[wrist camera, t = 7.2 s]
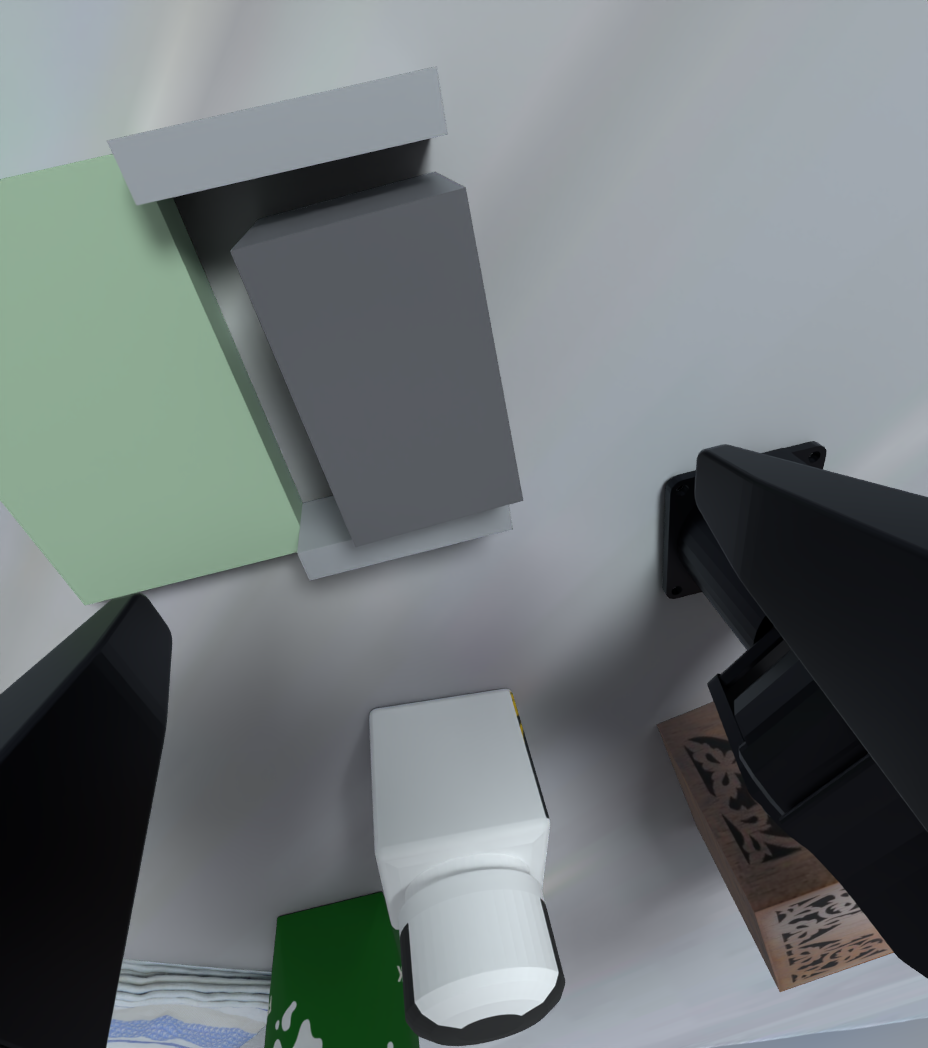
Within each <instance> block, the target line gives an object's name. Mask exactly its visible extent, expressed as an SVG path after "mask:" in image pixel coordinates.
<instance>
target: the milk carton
mask: <svg viewBox="0 0 928 1048" xmlns="http://www.w3.org/2000/svg"><path fill="white" fill-rule="evenodd" d="M264 1048H419V1037H418V1036H417V1035H416V1034H415V1033H414V1032H413V1030H412V1029H411V1028H410V1027H409V1025H408V1024H407V1022H406V1020H405V1008H404V993H403V979H402V964H401V949H400V934H399V930H396V929H395V928H394V927H393V926H392V925H391V921H390V917H389V913H388V909H387V904H386V900H385V897H384V895H383V893H382V892H379V893H375V894H371V895H367V896H362V897H358V898H354V899H350V900H346V901H342V902H338V903H334V904H329V905H325V906H321V907H317V908H313V909H309V910H305V911H301V912H297V913H292V914H288V915H284V916H280V917H278V918H277V927H276V937H275V947H274V956H273V965H272V975H271V984H270V993H269V1003H268V1013H267V1024H266V1036H265V1047H264Z"/></svg>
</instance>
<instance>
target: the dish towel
mask: <svg viewBox="0 0 928 1048" xmlns="http://www.w3.org/2000/svg"><path fill="white" fill-rule="evenodd" d="M271 975H272V972H265V971H252V970H236V969H225V968H213V967H202V966H190V965H178V964H167V963H157V962H148V961H138V960H129V959H123V962H122V967H121V972H120V978H119V983H118V988H117V994H116V999H115V1004H114V1010H113V1015H112V1020H111V1026H110V1031H109V1036H108V1042H107V1047H106V1048H238V1047H241V1046H242V1045H243V1044H244V1043H246V1042H247V1041H248V1040H250V1039H252V1037H253V1036H255V1035H257V1034H258V1032H259V1031H260V1030H261V1029H262V1028H263V1027H264V1026H266V1024H267V1013H268V1003H269V993H270V984H271Z"/></svg>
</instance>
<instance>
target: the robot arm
mask: <svg viewBox="0 0 928 1048" xmlns="http://www.w3.org/2000/svg"><path fill="white" fill-rule="evenodd" d="M812 453H813V454H812ZM811 454H812V455H811ZM810 455H811V456H810ZM809 456H810V457H809ZM825 457H826V449H825V447H823V446H822V445H820V444H819V443H817V442H815V441H812V442H807V443H803V444H799V445H795V446H791V447H787V448H780V449H776V450H772V451H768V452H765V453H758V452H754V451H750V450H746V449H742V448H739V447H735V446H731V445H727V444H724V445H719V446H715V447H711V448H707V449H703V450H702V451H701V452H700V453H699V454H698V457H697V464H696V470H695V471H691V472H687V473H683V474H679V475H677V476H674V477H673V478H671V479H670V480H669V481H668V483H667V485H666V492H665V522H664V552H663V582H662V588H663V591H664V593H665V594H666V595H667V597H668V598H671V599H676V598H680V597H684V596H688V595H692V594H696V593H699V592H703V593H704V595H705V596H706V597H707V598H708V600H709V601H710V602H711V604H712V605H713V606H714V608H715V609H716V610H717V612H718V613H719V614H720V615H721V617H722V618H723V619H724V621H725V622H726V623H727V625H728V626H729V627H730V629H731V630H732V631H733V633H734V634H735V635H736V636H737V638H738V639H739V640H740V642H741V643H742V644H743V646H744V647H745V648H746V650H747V651H746V652H745V653H744V654H743V655H742V656H740V657H739V658H738V659H737V660H736V661H735V662H734V663H733V664H732V665H731V666H730V667H729V668H727V669H726V670H725V671H724V672H723V673H722V674H717V675H716V676H715V677H714V678H713V679H712V680H711V681H709V682H708V683H707V684H708V687H709V690H710V693H711V695H712V698H713V701H714V703H715V706H716V709H717V711H718V714H719V717H720V720H721V722H722V725H723V728H724V730H725V733H726V736H727V738H728V741H729V744H730V746H731V749H732V752H733V754H734V757H735V760H736V762H737V765H738V768H739V770H740V772H741V774H742V777H743V780H744V782H745V785H746V788H747V790H748V792H749V794H750V795H751V797H752V798H753V799H754V800H755V801H756V802H757V803H759V804H760V805H761V806H762V808H763V810H764V811H765V812H766V813H767V814H768V815H769V816H770V817H771V818H772V819H773V820H774V822H775V823H776V824H777V825H778V826H779V827H780V828H782V829H783V830H784V831H785V832H786V833H787V834H788V835H789V836H790V837H791V838H793V839H794V840H795V841H797V842H798V843H799V844H800V845H802V846H803V847H805V848H806V849H808V850H809V851H810V852H811V853H812V854H813V855H814V856H815V857H816V858H817V859H818V860H819V861H820V862H821V864H822V865H823V866H824V867H825V868H826V869H827V870H828V871H829V872H830V873H831V874H832V875H833V876H834V878H835V879H836V880H837V881H838V882H839V883H840V884H841V885H842V887H843V888H844V889H845V890H846V892H847V893H848V894H849V895H850V896H851V898H852V899H853V900H854V901H855V903H856V904H857V905H858V906H859V908H860V909H861V910H862V912H863V913H864V914H865V915H866V917H867V918H868V919H869V921H870V922H871V923H872V925H873V926H874V927H875V929H876V930H877V931H878V932H879V934H880V935H881V936H882V938H883V939H884V940H885V942H886V943H887V944H888V945H889V947H890V948H891V949H892V951H893V952H894V953H895V954H896V955H897V956H898V958H900V959H901V960H902V961H903V962H905V963H906V964H907V965H909V966H910V967H912V968H913V969H915V970H916V971H918V972H919V973H920V974H922V975H923V976H925V977H926V978H928V497H925V496H921V495H918V494H914V493H910V492H906V491H902V490H898V489H895V488H891V487H887V486H883V485H879V484H876V483H872V482H868V481H864V480H860V479H857V478H853V477H849V476H845V475H841V474H838V473H834V472H830V471H826V470H823V466H824V462H825ZM682 485H683V487H682V488H681V489H680V490H678V491H677V489H678V488H679V487H680V486H682ZM675 587H676V588H675ZM673 588H674V589H673ZM171 654H172V636H171V632H170V630H169V628H168V626H167V624H166V623H165V622H164V620H163V619H162V617H161V616H160V615H159V613H158V612H157V610H156V609H155V608H154V606H153V605H152V603H151V602H150V600H149V599H148V598H147V597H146V596H145V595H143V594H141V593H133V594H129V595H125V596H121V597H117V598H114V599H112V600H111V601H109V602H108V603H107V604H106V605H105V606H103V607H102V608H101V609H100V610H99V611H97V612H96V613H95V614H94V615H93V616H92V617H90V618H89V619H88V620H87V621H86V622H85V623H83V624H82V625H81V626H80V627H79V628H78V629H76V630H75V631H74V632H73V633H72V634H71V635H69V636H68V637H67V638H66V639H65V640H64V641H62V642H61V643H60V644H59V645H58V646H57V647H55V648H54V649H53V650H52V651H51V652H50V653H48V654H47V655H46V656H45V657H44V658H42V659H41V660H40V661H39V662H38V663H37V664H35V665H34V666H33V667H32V668H31V669H30V670H28V671H27V672H26V673H25V674H24V675H23V676H21V677H20V678H19V679H18V680H17V681H16V682H14V683H13V684H12V685H11V686H10V687H9V688H7V689H6V690H5V691H4V692H3V693H2V694H0V1048H106V1047H107V1042H108V1036H109V1031H110V1026H111V1020H112V1015H113V1010H114V1004H115V999H116V994H117V988H118V983H119V978H120V972H121V967H122V962H123V956H124V951H125V946H126V941H127V935H128V930H129V925H130V919H131V914H132V909H133V903H134V898H135V893H136V887H137V882H138V877H139V871H140V866H141V861H142V855H143V850H144V845H145V839H146V834H147V829H148V824H149V818H150V813H151V808H152V802H153V797H154V792H155V786H156V781H157V776H158V770H159V765H160V760H161V754H162V749H163V744H164V737H165V731H166V723H167V714H168V699H169V684H170V669H171Z"/></svg>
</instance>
